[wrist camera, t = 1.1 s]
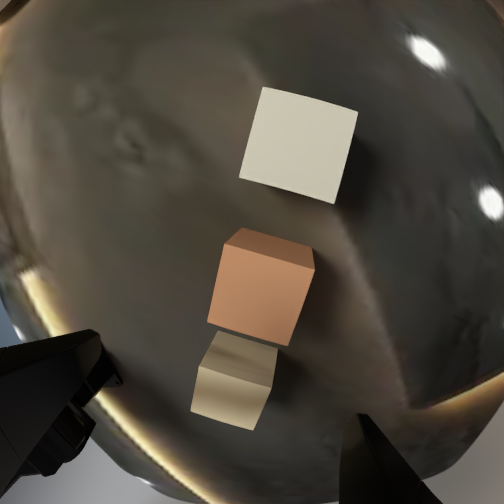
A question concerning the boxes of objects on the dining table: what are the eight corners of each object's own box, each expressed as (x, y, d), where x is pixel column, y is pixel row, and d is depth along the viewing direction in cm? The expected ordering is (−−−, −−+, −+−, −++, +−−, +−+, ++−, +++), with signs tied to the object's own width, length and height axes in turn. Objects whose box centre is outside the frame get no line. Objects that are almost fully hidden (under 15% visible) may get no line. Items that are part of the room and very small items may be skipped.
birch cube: (261, 390, 24) (252, 430, 19) (208, 373, 24) (190, 411, 20) (278, 347, 22) (271, 387, 18) (218, 330, 23) (199, 366, 18)
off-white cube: (325, 196, 19) (334, 204, 14) (254, 176, 19) (239, 177, 15) (344, 127, 17) (358, 112, 13) (272, 107, 18) (262, 86, 13)
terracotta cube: (290, 309, 21) (287, 346, 17) (226, 290, 22) (207, 321, 17) (311, 247, 20) (314, 270, 15) (242, 227, 20) (224, 243, 16)
